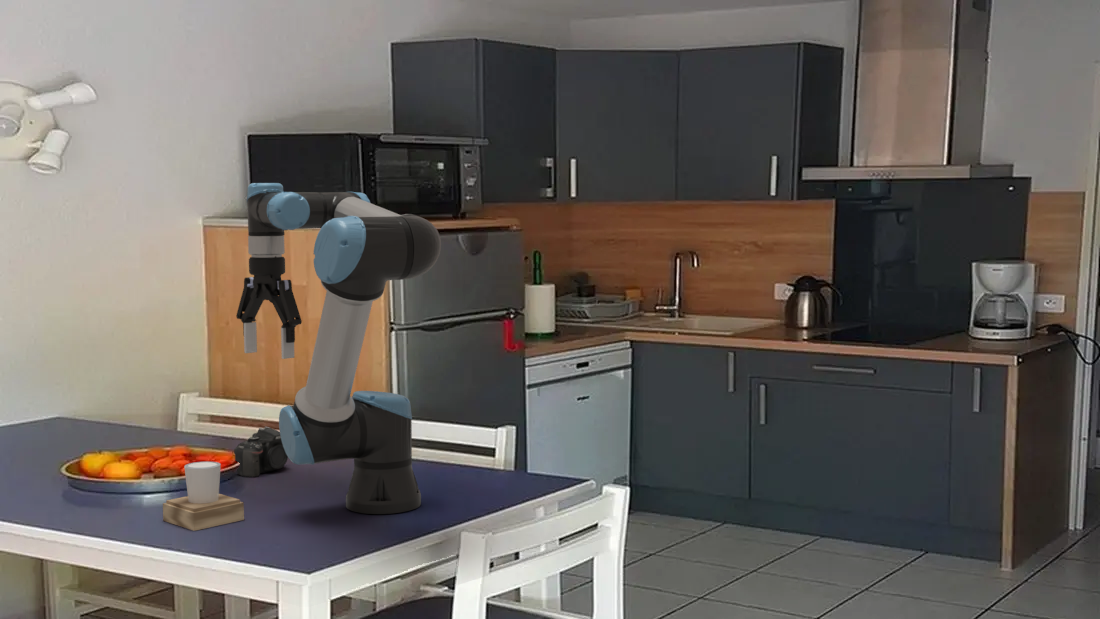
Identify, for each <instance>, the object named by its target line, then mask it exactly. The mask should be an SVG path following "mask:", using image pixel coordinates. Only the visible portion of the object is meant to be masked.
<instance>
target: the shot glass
mask: <svg viewBox="0 0 1100 619" xmlns="http://www.w3.org/2000/svg"><path fill="white" fill-rule="evenodd" d="M221 465H222V463H220V462H219V461H218V462H217V461H207V460H206V461H196V462H190V463H186V464H185V465H184V474H185V475H184V476H185V483H186V490H187V496H188V501H189V502H190V503H197V504H202V503H211V502H215V501H217V500H218V497H219V494H220V479H221V468H222V467H221Z"/></svg>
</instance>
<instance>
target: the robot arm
mask: <svg viewBox="0 0 1100 619" xmlns="http://www.w3.org/2000/svg"><path fill="white" fill-rule="evenodd" d="M246 203H247V206H246V208H247V230H248V231H247V232H248V233H247V235H248V236H247V239H248V240H247V241H248V245H247V246H248V255H250V257H249V258H248V272H249V274H250V275H252V276H251V277H244V279H243V289H242V293H241V297H240V301H239V303H238V304H239V305H238V308H237V311H236V319H237V320H240V321H241V322H242V323H243V324H242V327H243V328H242V329H243V330H242V332H243V333H242V334H243V346H244V349H243V350H244V354H252V353H257V352H258V344H257V343H258V342H257V341H258V340H257V339H258V338H257V320H256V316H257V315H258V312H259V311H260V308H261V307H262V305H263V303H264V301H269V303H272V305H273V308H274V310H275V311H276V313H277V316H278V317H279V319H280V321H281V324H282V325H281V327H280V336H281V337H280V339H281V341H280V342H281V343H280V344H281V345H280V346H281V347H280V348H281V359H282V360H284V359H293V358H295V341H296V330H295V329H296V327H297V326H298V325H301V324H302V322H303V320H302V318H301V315H300V311H299V308H298V305H297V302H296V299H295V296H294V293H293V285H292V280H291V279H282V275H284V274H285V273H286V258H285V257H284V256H282V255H284V254H285V253H286V252H285V231H294V230H302V229H303V230H308V229H309V230H310V229H319V231H318V233H317V236H316V239H315V242H314V247H313V255H314V258H313V266H314V272H315V274H316V276H317V277H318V279H319V280H320V283H321V286H322V288H324V290H325V291H326V292H325V296H324V302H323V307H322V309H321V310H322V311H321V316H320V320H319V326H318V329H317V334H316V338H315V343H314V348H313V352H312V357H311V360H310V361H311V362H310V366H309V371H308V376H307V379H306V384H305V385H306V386H303V387H302V388H300V389H299V390H298V391H297V392H296V394H295V397H294V402H293V405H286V406H283V407H282V408H281V409H280V412H279V415H278V428H279V429H278V430H279V432H280V436H281V440H282V444H283V447H284V450H285V452H286V454H287V456H288V460H289V461H291V463H293V464H295V465H298V466H299V465H315V464H320V463H323V464H324V463H328V462H337V461H343V460H344V461H345V460H353V472H352V475H351V478H350V482H349V487H348V490H347V493H346V495H345V507H346V509H347V510H349V511H352V512H354V513H358V514H367V515H389V514H390V515H391V514H397V513H398V514H399V513H404V512H405V513H406V512H409V511H412V510H415V509H417V508H419V507H420V506H421V505H422V495H421V494H422V493H421V490H420V489H419V486H418V485H419V484H418V481H417V479H416V476H415V472H414V469H413V464H412V463H413V461H412V458H413V455H412V454H413V451H412V450H413V448H412V447H413V446H412V444H413V439H412V437H413V434H412V424H413V423H412V421H413V416H412V407H411V401H410V399H409V398H408V397H406V396H405V395H402V394H398V393H393V392H386V391H374V390H357V391H354V392H353V393H352V389H353V386H354V385H353V384H354V381H355V377H356V372H357V369H358V365H359V360H360V356H361V353H362V348H363V343H364V339H365V336H366V331H367V327H368V324H369V323H368V322H369V319H370V314H371V310H372V306H373V302H374V301H376V300H378V299H380V298H381V297H383V294H384V291H385V288H386V284H387V281H388V282H389V281H400V280H411V279H414V278H418V277H420V276H422V275H425V274H426V273H427V272H429V271H430V270H431V269H432V268H433V267H434V265H436V262H438V258H439V257H440V254H441V249H442V239H441V235H440V233H439V231H438V229H437V228H436V226H435V225H434V224H433V223H432V222H430V221H429V220H428V219H425V218H423V217H421V216H418V215H416V214H412V213H405V214H398V213H397V212H394V211H392V210H390V209H389V210H388V209H386V208H384V207H381V206H379V205H375V204H374V203H371V200H370V199H369V197H368V196H367V194H365V193H363V192H354V191H345V192H343V191H341V192H340V191H339V192H336V191H335V192H317V191H315V192H314V191H313V192H312V191H311V192H305V191H302V192H299V191H298V192H294V191H284V186H283V184H281V183H279V182H252V183H250V184H248V186H247V197H246ZM351 394H352V395H351Z"/></svg>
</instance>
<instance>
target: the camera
mask: <svg viewBox="0 0 1100 619" xmlns="http://www.w3.org/2000/svg"><path fill="white" fill-rule="evenodd" d="M233 454H234V459H235V460H234V461H237V462H239V463H240V466H239V468H238V469H237V471H236V473H237V475H238V476H240V477H246V478H259V476H260V475H261V474H264V473H269V472H272V471H276V470H280V469H282V468H284V467H285V465H286V463H287V462H288V460H289V458H288V456H287V454H286V452H285V450H284V447H283V444H282V440H281V436H280V430H277V429H276V428H275V429H274V428H272V427H269V426H264V427H258V430H257V432H254V433H253V434H252V435H251V437H248V439H247V440H245V441H242V442H239V443H238V445H237V446H236V447H235V448H234V450H233Z"/></svg>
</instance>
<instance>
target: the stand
mask: <svg viewBox="0 0 1100 619" xmlns="http://www.w3.org/2000/svg"><path fill="white" fill-rule="evenodd" d="M244 507H245V504H244V502H243V501H241V499H239V498H236V497H232V496H229V495H226V494H222V493H219V497H218V500H217V501H215V502H211V503H202V504H197V503H190V502H189V501H188V495H187V496H182V497H175V498H172V499H166V502H163V503H162V521H163V522H166V523H169V524H172V525H176V526H178V527H182V528H184V529H186V530H187V529H188V530H190V531H193V532H194V531H199V530H200V531H201V530H204V529H208V528H213V527H217V526H223V525H227V524H231V523H235V522H239V521H244V520H245V508H244Z"/></svg>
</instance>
